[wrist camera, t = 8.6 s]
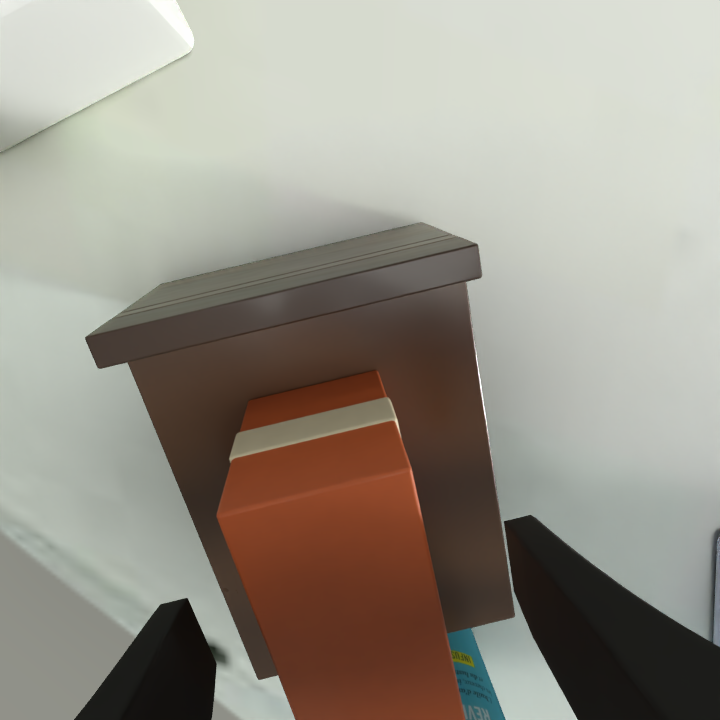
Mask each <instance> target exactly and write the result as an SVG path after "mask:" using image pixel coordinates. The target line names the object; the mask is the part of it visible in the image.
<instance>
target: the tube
mask: <svg viewBox="0 0 720 720" xmlns="http://www.w3.org/2000/svg"><path fill="white" fill-rule="evenodd" d="M447 635H448V640H449V645H450V649H451V654H452V659H453V663H454V668H455V673H456V677H457V682H458V687H459V691H460V696H461V701H462V705H463V710H464V715H465V719H466V720H505V717H504V714H503V712H502V709H501V706H500V704H499V701H498V699H497V696H496V693H495V691H494V688H493V685H492V683H491V680H490V678H489V675H488V672H487V670H486V667H485V664H484V662H483V659H482V657H481V654H480V651H479V649H478V646H477V643H476V641H475V638H474V635H473V633H472V630H471V628H469V629H465V630H460V631H456V632H452V633H448V634H447Z"/></svg>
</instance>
